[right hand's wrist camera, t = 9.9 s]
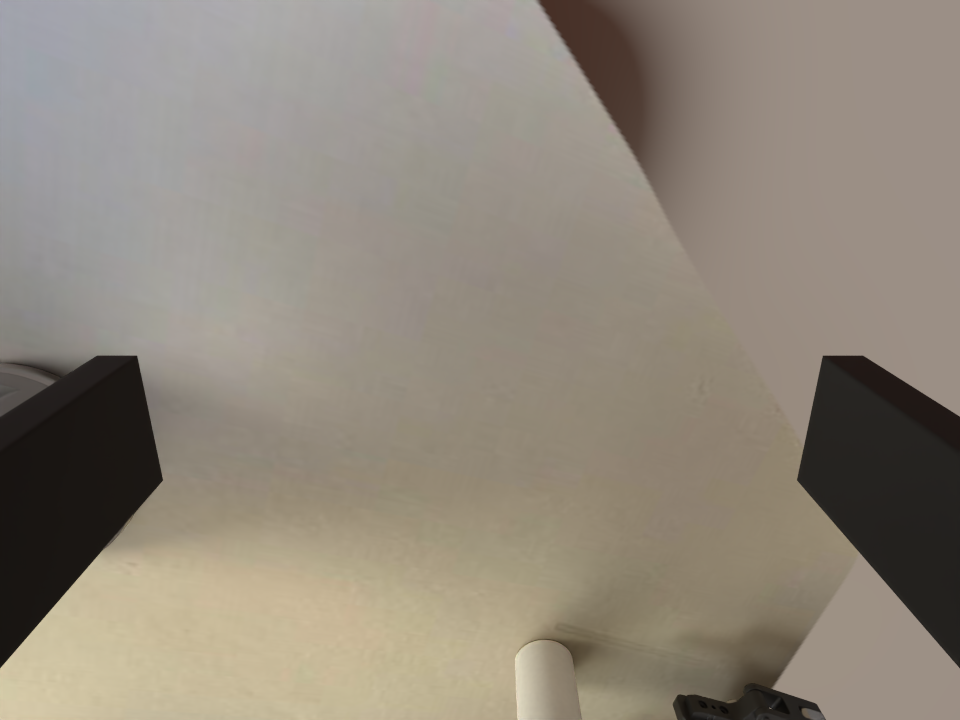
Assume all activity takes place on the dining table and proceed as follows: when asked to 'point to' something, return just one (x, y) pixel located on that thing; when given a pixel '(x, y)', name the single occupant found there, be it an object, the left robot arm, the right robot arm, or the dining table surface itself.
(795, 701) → the left robot arm
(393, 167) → the dining table surface
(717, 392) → the dining table surface
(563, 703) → the bottle
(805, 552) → the dining table surface
